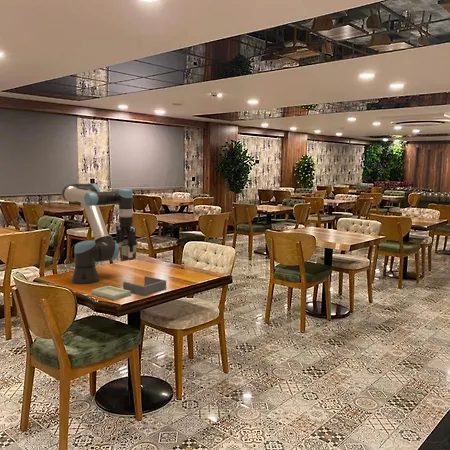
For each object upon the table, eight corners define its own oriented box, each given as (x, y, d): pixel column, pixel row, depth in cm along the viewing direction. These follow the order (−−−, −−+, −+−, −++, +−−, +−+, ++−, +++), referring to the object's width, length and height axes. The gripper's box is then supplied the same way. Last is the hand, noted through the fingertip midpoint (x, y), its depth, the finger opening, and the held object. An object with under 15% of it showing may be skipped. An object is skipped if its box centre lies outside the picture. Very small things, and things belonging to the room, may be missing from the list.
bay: (123, 290, 240) (123, 282, 239) (145, 284, 254) (145, 276, 253) (143, 296, 231) (143, 286, 230) (166, 289, 245) (166, 280, 245)
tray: (91, 294, 232) (91, 289, 231) (108, 289, 241) (108, 285, 241) (114, 300, 222) (114, 295, 222) (130, 295, 231) (130, 291, 231)
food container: (130, 256, 256) (130, 240, 254) (137, 258, 252) (137, 241, 250) (113, 260, 246) (113, 242, 245) (120, 261, 242) (120, 243, 241)
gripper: (108, 215, 248) (109, 255, 251) (133, 218, 237) (133, 260, 240) (118, 214, 254) (119, 253, 257) (142, 217, 244) (142, 257, 246)
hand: (125, 256), depth 249 cm, fingers closed on food container, 6 cm apart
